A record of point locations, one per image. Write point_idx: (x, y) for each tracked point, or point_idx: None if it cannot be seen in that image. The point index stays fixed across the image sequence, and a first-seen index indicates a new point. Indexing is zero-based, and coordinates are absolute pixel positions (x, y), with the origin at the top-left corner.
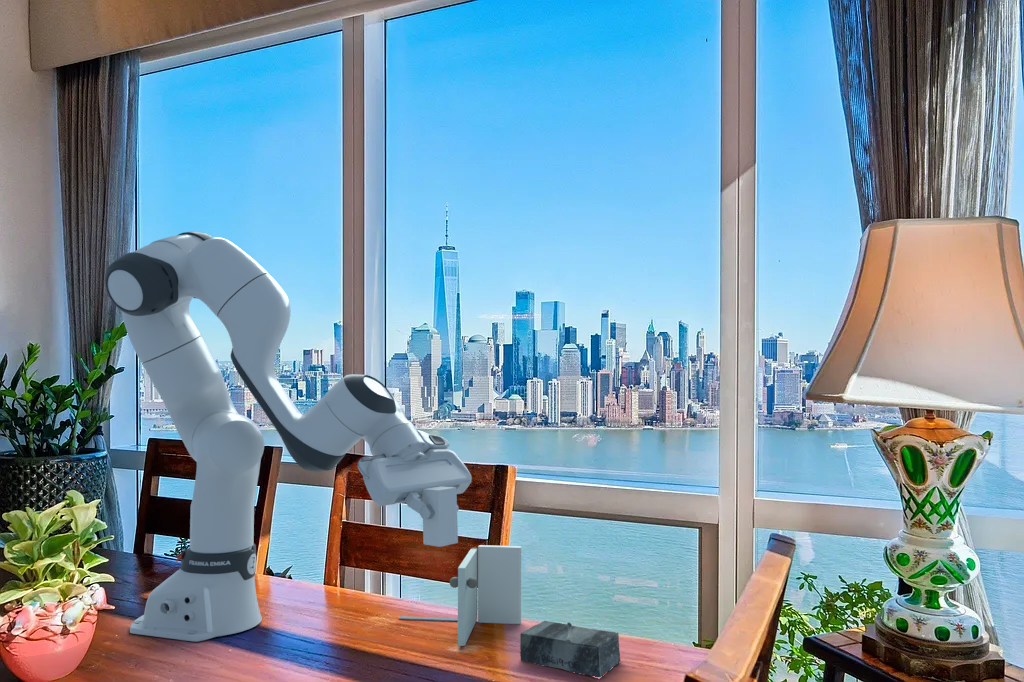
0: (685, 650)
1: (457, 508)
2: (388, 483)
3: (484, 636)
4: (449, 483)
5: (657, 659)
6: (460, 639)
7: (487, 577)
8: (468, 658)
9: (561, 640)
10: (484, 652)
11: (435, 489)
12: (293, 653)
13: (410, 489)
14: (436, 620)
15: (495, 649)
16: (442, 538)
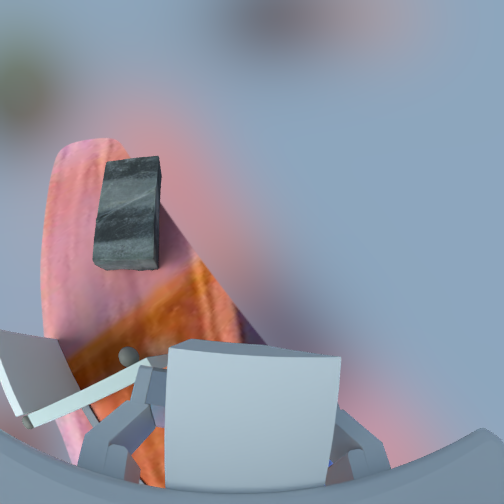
0: (64, 153)
1: (148, 366)
2: (491, 461)
3: (116, 358)
4: (88, 472)
5: (91, 160)
6: None
7: (44, 389)
8: (191, 328)
9: (155, 198)
10: (162, 324)
11: (319, 406)
12: None
13: (409, 463)
14: None
15: (145, 317)
16: (258, 345)
